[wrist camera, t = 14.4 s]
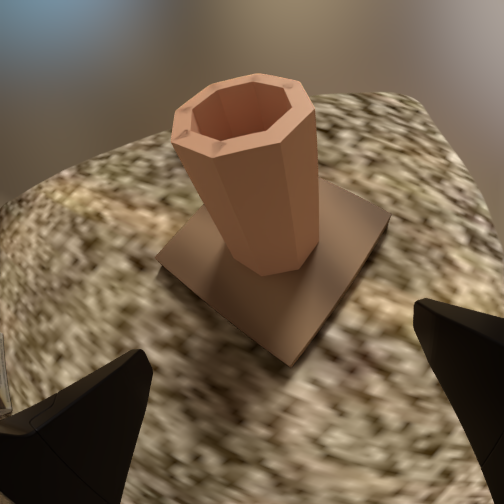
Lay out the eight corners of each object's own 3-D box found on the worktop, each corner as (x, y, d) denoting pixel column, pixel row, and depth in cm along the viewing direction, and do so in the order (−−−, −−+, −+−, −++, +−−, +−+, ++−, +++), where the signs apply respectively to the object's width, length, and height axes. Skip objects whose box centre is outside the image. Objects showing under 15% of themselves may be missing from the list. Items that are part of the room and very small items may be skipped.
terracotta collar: (283, 290, 17) (249, 174, 9) (215, 246, 20) (148, 133, 11) (331, 223, 19) (334, 90, 10) (265, 189, 21) (232, 69, 13)
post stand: (291, 368, 16) (284, 358, 12) (161, 265, 21) (130, 233, 17) (388, 223, 19) (401, 181, 15) (259, 160, 24) (248, 119, 20)
